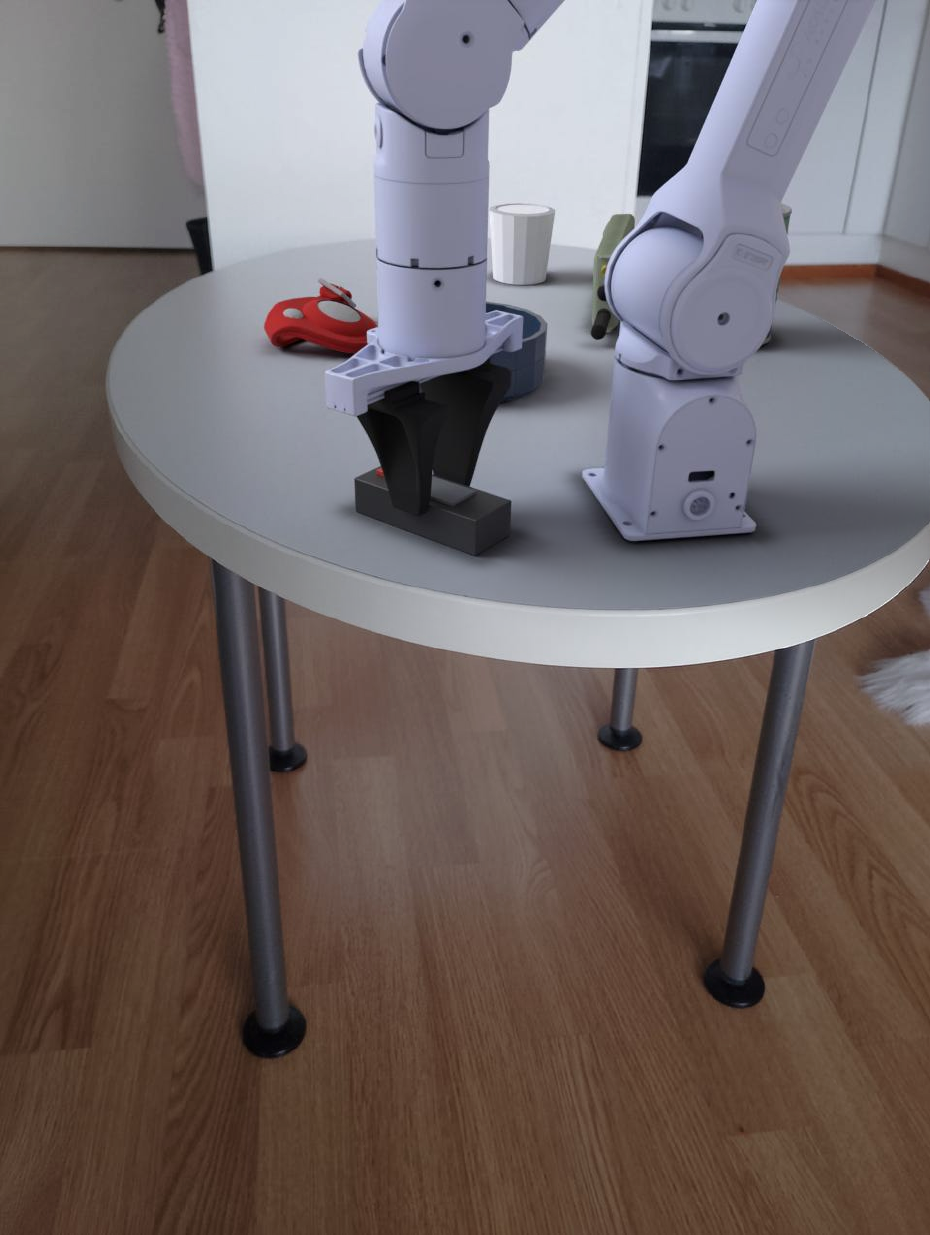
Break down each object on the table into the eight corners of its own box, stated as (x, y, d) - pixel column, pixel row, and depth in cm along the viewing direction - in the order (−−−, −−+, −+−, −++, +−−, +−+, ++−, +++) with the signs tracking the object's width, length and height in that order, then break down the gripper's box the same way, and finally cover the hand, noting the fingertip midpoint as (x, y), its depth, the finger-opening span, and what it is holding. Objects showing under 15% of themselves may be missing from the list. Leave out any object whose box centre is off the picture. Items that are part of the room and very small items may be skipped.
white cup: (479, 282, 110) (481, 212, 106) (496, 268, 115) (499, 200, 112) (543, 288, 108) (547, 217, 105) (558, 273, 114) (562, 205, 110)
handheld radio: (635, 279, 112) (617, 348, 91) (604, 278, 113) (579, 347, 92) (639, 213, 109) (621, 269, 88) (607, 213, 109) (582, 268, 88)
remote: (510, 534, 61) (512, 495, 60) (475, 556, 59) (476, 515, 57) (392, 493, 65) (391, 455, 64) (355, 511, 63) (353, 473, 62)
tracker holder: (402, 338, 89) (291, 323, 84) (387, 384, 92) (278, 372, 86) (354, 272, 97) (249, 255, 91) (341, 316, 99) (239, 302, 94)
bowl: (562, 403, 80) (566, 344, 77) (391, 411, 77) (390, 351, 75) (522, 350, 90) (524, 297, 88) (371, 356, 88) (370, 302, 86)
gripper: (456, 224, 61) (453, 444, 68) (273, 269, 51) (293, 521, 58) (558, 242, 57) (544, 472, 65) (383, 294, 48) (389, 559, 55)
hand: (431, 498), depth 61 cm, fingers closed on remote, 3 cm apart
